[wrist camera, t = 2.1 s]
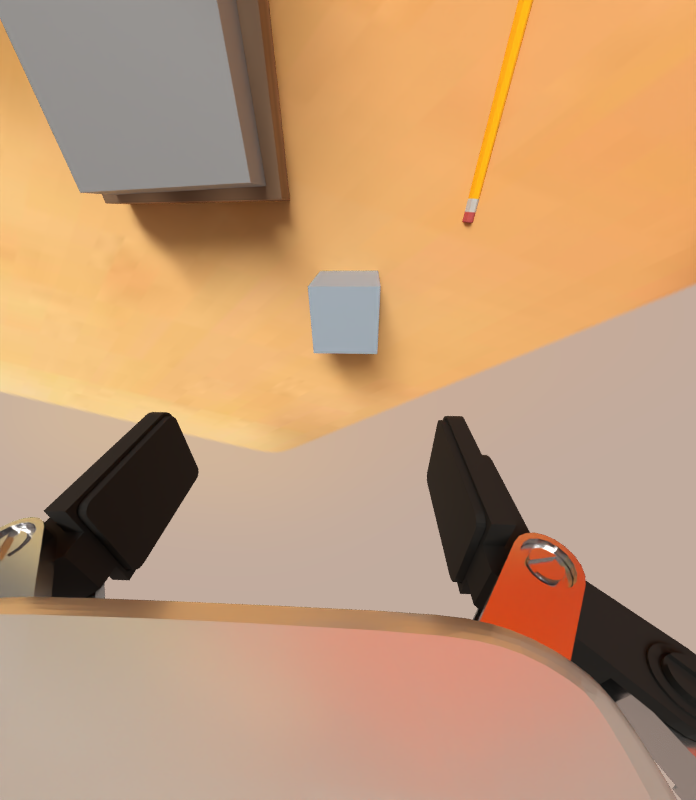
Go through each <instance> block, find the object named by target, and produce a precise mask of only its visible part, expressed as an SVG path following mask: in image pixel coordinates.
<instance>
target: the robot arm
mask: <svg viewBox="0 0 696 800" xmlns="http://www.w3.org/2000/svg"><path fill="white" fill-rule="evenodd" d="M197 477H198V467H197V465H196V463H195V461H194V458H193V456H192V454H191V451H190V449H189V447H188V445H187V443H186V440H185V438H184V436H183V433H182V431H181V429H180V427H179V424H178V422H177V420H176V418H174V417H172V415H171V414H170V413H167V412H151V413H148V414H147V415H146V416H145V417H144V418H143V419H142V420H140V421H139V422H138V423H137V424H136V425H135V426H134V427H133V428H132V429H131V430H130V431H129V432H128V433H127V434H126V435H124V436H123V437H122V438H121V439H120V440H119V441H118V442H117V443H116V444H115V445H114V446H113V447H112V448H110V449H109V450H108V451H107V452H106V453H105V454H104V455H103V456H102V457H101V458H100V459H99V460H98V461H97V462H95V463H94V464H93V465H92V466H91V467H90V468H89V469H88V470H87V471H86V472H85V473H84V474H83V475H82V476H81V477H79V478H78V479H77V480H76V481H75V482H74V483H73V484H72V485H71V486H70V487H69V488H68V489H67V490H65V491H64V492H63V493H62V494H61V495H60V496H59V497H58V498H57V499H56V500H55V501H54V502H53V503H52V504H50V505H49V507H47V508H46V509H45V510H44V512H45V513H46V514H47V515H48V516H49V517H50V518H49V519H48V520H47V521H46V522H45V523H44V522H43V521H42V520H41V519H40V518H35V517H30V518H23V519H20V520H17V521H14V522H11V523H9V524H7V525H5V526H2V527H1V528H0V800H677V799H676V797H675V795H674V793H673V791H672V790H671V788H670V786H669V785H668V783H667V781H666V780H665V778H664V776H663V775H662V773H661V771H660V770H659V768H658V767H657V765H656V763H657V764H658V765H659V766H660V767H661V769H662V770H663V771H664V772H665V773H666V775H667V776H668V777H669V778H670V779H671V780H672V782H673V783H674V784H675V786H674V787H673V790H674V791H675V792H676V794H677V795H678V796H679V797H680V798H681V800H696V654H694V653H693V652H692V651H690V650H689V649H688V648H686V647H684V646H683V645H682V644H680V643H679V642H677V641H676V640H674V639H672V638H671V637H670V636H668V635H667V634H665V633H664V632H662V631H661V630H659V629H658V628H656V627H655V626H653V625H652V624H650V623H649V622H647V621H646V620H644V619H643V618H641V617H640V616H638V615H637V614H635V613H634V612H632V611H630V610H629V609H627V608H626V607H625V606H623V605H621V604H620V603H619V602H617V601H616V600H614V599H612V598H611V597H610V596H608V595H606V594H605V593H603V592H602V591H600V590H599V589H597V588H596V587H594V586H593V585H591V584H590V583H588V582H587V581H585V574H584V571H583V568H582V566H581V564H580V563H579V562H578V560H577V559H576V557H575V556H574V555H573V554H572V553H571V552H570V551H569V550H568V549H567V548H566V547H565V546H564V545H562V544H560V543H559V542H558V541H556V540H555V539H552V538H550V537H548V536H546V535H542V534H538V533H530V532H529V530H528V528H527V526H526V524H525V522H524V521H523V519H522V517H521V515H520V513H519V511H518V509H517V507H516V506H515V503H514V502H513V500H512V498H511V496H510V494H509V492H508V490H507V488H506V486H505V484H504V482H503V480H502V479H501V477H500V475H499V473H498V471H497V469H496V467H495V465H494V463H493V461H492V460H491V458H490V457H489V456H487V455H482V454H481V453H480V450H479V448H478V446H477V444H476V442H475V440H474V438H473V436H472V434H471V432H470V430H469V428H468V426H467V424H466V422H465V420H464V418H463V417H462V416H445V417H444V418H443V420H439V421H438V424H437V429H436V433H435V438H434V443H433V448H432V452H431V457H430V463H429V467H428V472H427V483H428V487H429V491H430V495H431V500H432V504H433V508H434V512H435V516H436V521H437V525H438V529H439V533H440V537H441V541H442V546H443V549H444V553H445V558H446V562H447V566H448V570H449V575H450V578H451V580H452V581H453V582H457V583H458V587H459V591H460V594H471V597H472V600H473V603H474V605H475V606H476V607H477V608H478V609H477V611H476V613H475V615H474V618H473V620H471V619H466V618H458V617H450V616H441V615H432V614H431V615H430V614H416V613H402V612H387V611H372V610H352V609H332V608H311V607H290V606H269V605H245V604H224V603H201V602H178V601H177V602H176V601H153V600H152V601H151V600H126V599H125V600H124V599H105V588H104V583H105V581H106V580H107V578H108V577H109V576H110V578H112V579H113V580H130V578H131V577H132V575H133V574H134V572H135V570H136V569H138V568H140V567H141V566H142V564H143V563H144V562H145V560H146V559H147V557H148V555H149V554H150V552H151V551H152V549H153V547H154V546H155V544H156V542H157V541H158V539H159V538H160V536H161V535H162V533H163V531H164V530H165V528H166V527H167V525H168V523H169V522H170V520H171V519H172V517H173V515H174V514H175V512H176V511H177V509H178V507H179V506H180V504H181V502H182V501H183V499H184V498H185V496H186V495H187V493H188V491H189V490H190V488H191V487H192V485H193V483H194V482H195V480H196V478H197ZM653 759H654V760H655V761H654V760H653ZM655 762H656V763H655Z"/></svg>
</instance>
